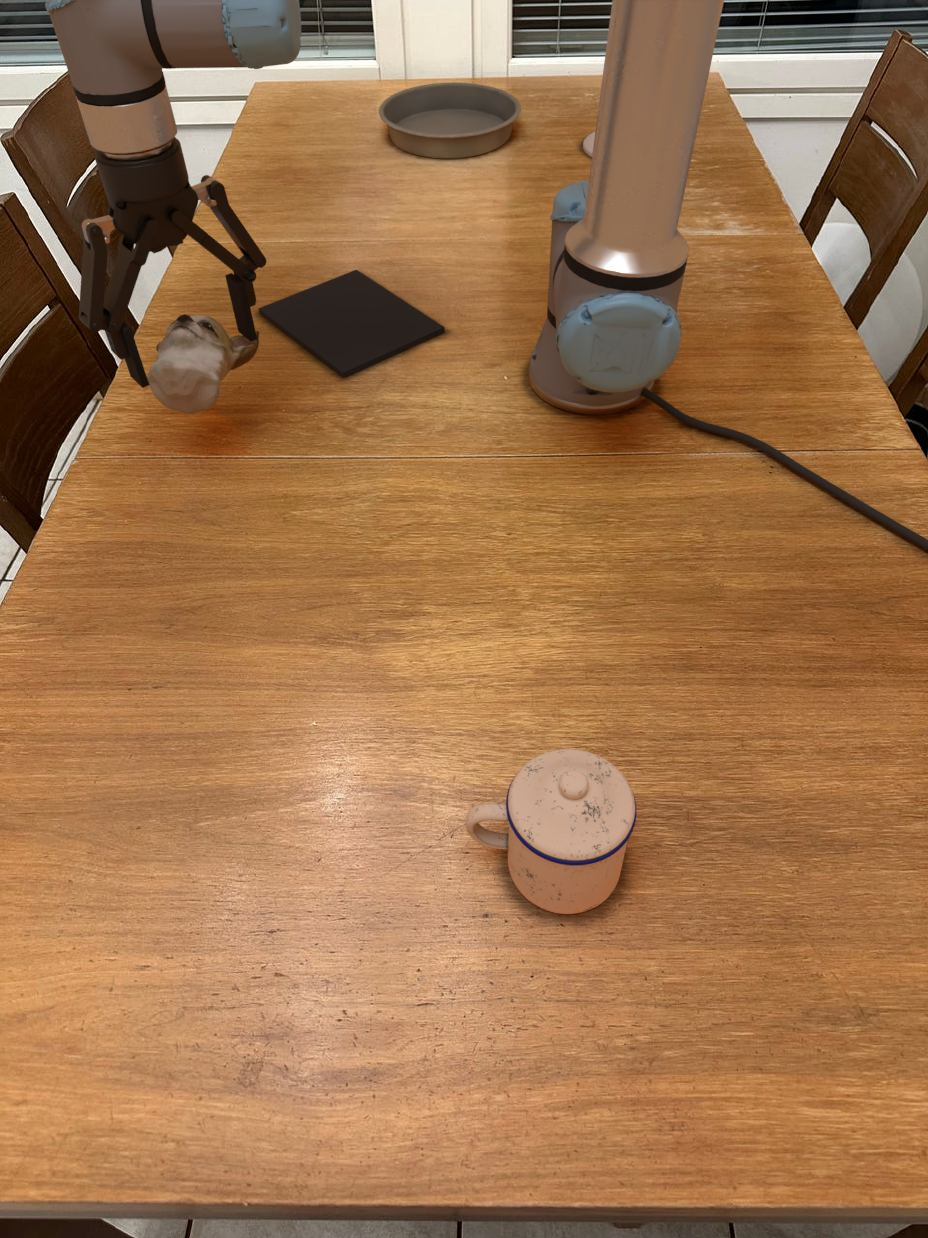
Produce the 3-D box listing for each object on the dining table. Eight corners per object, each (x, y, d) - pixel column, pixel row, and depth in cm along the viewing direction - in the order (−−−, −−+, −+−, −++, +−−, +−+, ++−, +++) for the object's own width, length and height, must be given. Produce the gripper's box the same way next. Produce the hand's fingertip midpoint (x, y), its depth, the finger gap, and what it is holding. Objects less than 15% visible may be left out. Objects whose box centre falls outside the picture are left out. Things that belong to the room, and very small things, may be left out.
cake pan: (545, 123, 169) (546, 96, 165) (473, 174, 155) (472, 146, 152) (430, 98, 178) (429, 71, 174) (352, 144, 164) (349, 116, 161)
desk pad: (444, 332, 123) (444, 326, 123) (343, 378, 117) (342, 372, 116) (357, 274, 134) (356, 269, 133) (259, 313, 127) (258, 308, 127)
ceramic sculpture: (107, 347, 90) (158, 279, 101) (131, 425, 96) (176, 353, 107) (216, 350, 90) (255, 281, 100) (233, 429, 96) (268, 355, 106)
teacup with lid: (621, 814, 75) (639, 729, 67) (625, 923, 69) (645, 845, 60) (471, 805, 76) (469, 719, 67) (462, 912, 70) (458, 833, 61)
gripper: (234, 95, 90) (275, 303, 106) (-15, 169, 80) (71, 386, 96) (275, 117, 86) (311, 329, 102) (18, 198, 76) (103, 420, 92)
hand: (195, 357), depth 99 cm, fingers closed on ceramic sculpture, 12 cm apart
